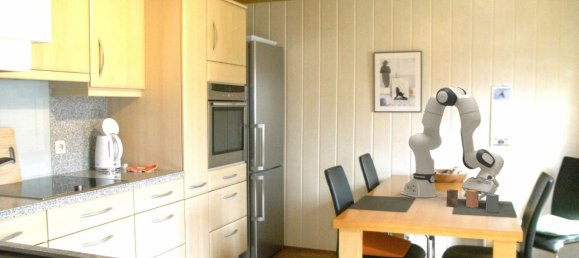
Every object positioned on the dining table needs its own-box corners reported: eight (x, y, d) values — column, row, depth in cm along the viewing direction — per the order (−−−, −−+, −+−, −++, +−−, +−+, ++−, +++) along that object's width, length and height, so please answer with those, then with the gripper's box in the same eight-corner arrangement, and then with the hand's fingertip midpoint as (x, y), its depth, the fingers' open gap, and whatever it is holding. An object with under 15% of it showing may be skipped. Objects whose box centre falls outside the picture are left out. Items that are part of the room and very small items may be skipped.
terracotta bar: (466, 206, 282) (466, 190, 281) (471, 205, 284) (472, 189, 283) (472, 207, 278) (472, 191, 277) (478, 207, 280) (478, 190, 279)
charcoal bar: (485, 211, 269) (486, 194, 268) (490, 210, 272) (490, 193, 271) (493, 212, 265) (494, 195, 265) (498, 211, 268) (498, 194, 268)
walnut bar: (446, 206, 283) (446, 190, 282) (449, 204, 286) (449, 189, 286) (454, 207, 280) (454, 191, 279) (457, 205, 283) (457, 189, 283)
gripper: (467, 173, 292) (454, 191, 288) (496, 178, 274) (483, 197, 270) (472, 180, 295) (460, 198, 291) (502, 185, 276) (488, 205, 272)
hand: (471, 198), depth 280 cm, fingers open, 8 cm apart
